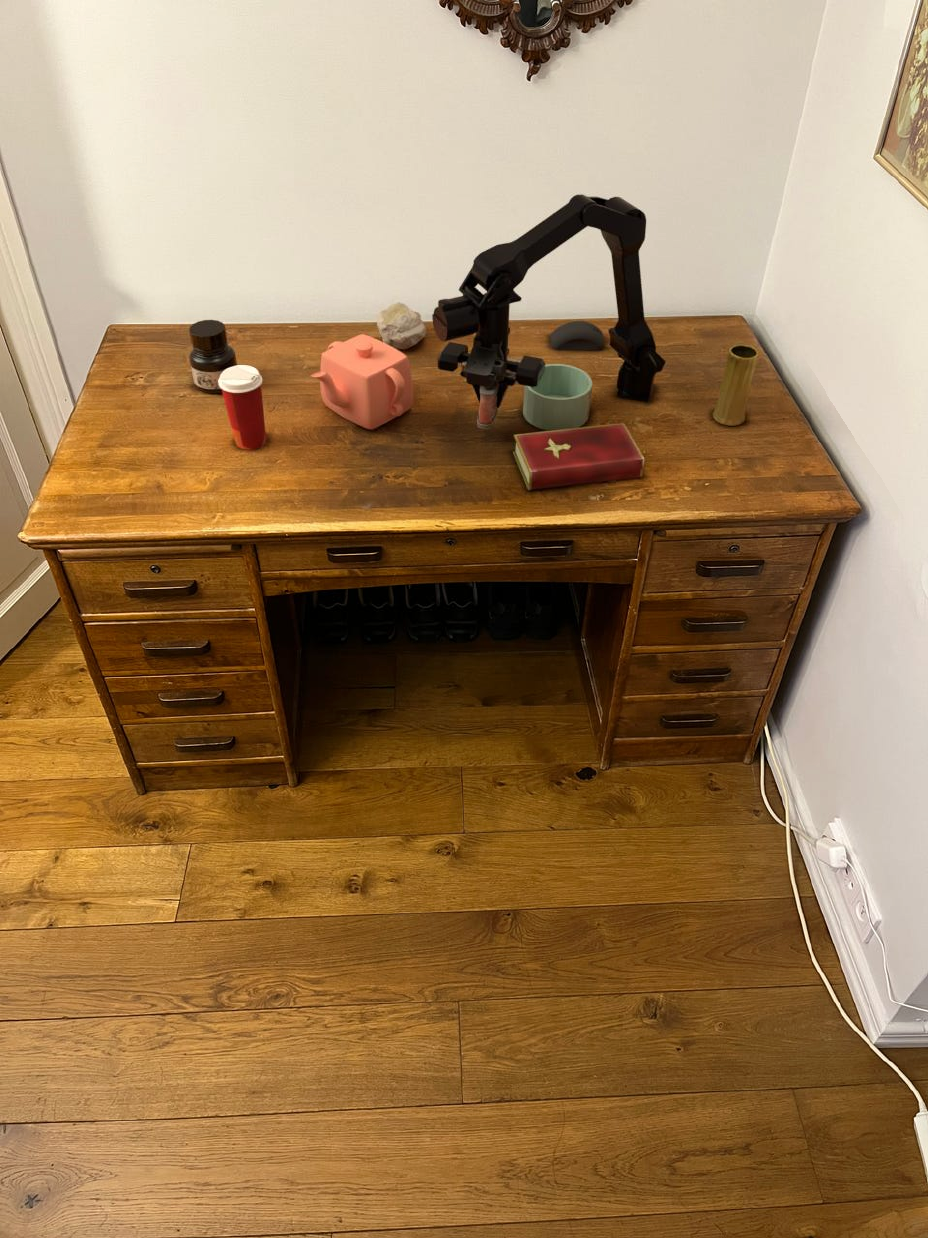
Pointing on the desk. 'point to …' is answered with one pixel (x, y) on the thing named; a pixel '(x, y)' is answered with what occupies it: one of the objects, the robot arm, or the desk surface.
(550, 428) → the pen pot
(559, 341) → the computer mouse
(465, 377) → the robot arm
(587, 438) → the hardcover book
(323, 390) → the teapot
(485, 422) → the lighter
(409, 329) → the grey rock
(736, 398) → the vase
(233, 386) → the paper cup
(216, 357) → the ink bottle
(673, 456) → the desk surface
